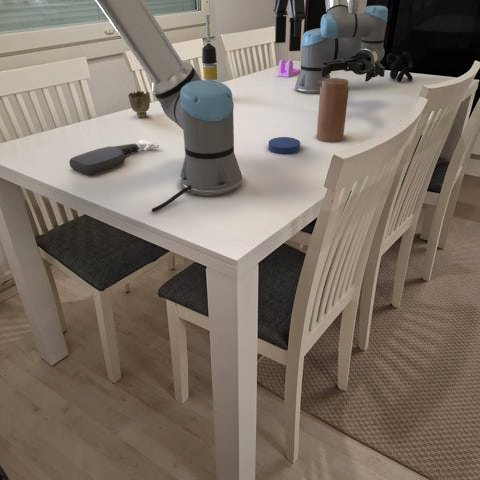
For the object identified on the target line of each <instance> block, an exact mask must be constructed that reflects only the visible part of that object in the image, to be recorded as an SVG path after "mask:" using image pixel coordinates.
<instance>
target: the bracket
mask: <svg viewBox="0 0 480 480" xmlns="http://www.w3.org/2000/svg"><path fill="white" fill-rule="evenodd" d="M300 71H301V68H297V67H296V68H295V67H294V62H293V60H289V59H288V60H287V62H286V60H285V59H279V61H278V74H277V75H278V77H284V78H290V77H293V76H296V75H299V74H300Z"/></svg>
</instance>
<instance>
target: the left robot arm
mask: <svg viewBox="0 0 480 480" xmlns="http://www.w3.org/2000/svg"><path fill="white" fill-rule="evenodd" d="M95 2H96V3H97V5H98V6H99V7H100V9H101V10H102V12H103V13H104V15H105V16H106V17H107V19H108V20H109V22H110V23H111V25H112V26H113V27H114V29H115V31H116V32H117V33H118V35H119V36H120V37H121V39H122V40H123V41H124V43H125V44H126V46H127V47H128V49H129V50H130V52H131V53H132V55H133V56H134V57H135V59H136V60H137V62H138V63H139V65H140V66H141V67H142V69H143V70H144V71H145V73H146V74H147V76H148V77H149V78H150V81H152V85H151V93H152V94H153V95H154V97H155V98H156V99H157V101H158V102H159V103H160V105H161V106H160V107H161V108H162V111H163V113H164V114H165V116H166V117H168V118H169V119H170V120H171V122H174V123H175V124H176V125H177V126H178V127H179V128H180V129H182V131H183V141H184V142H183V143H184V154H185V155H184V158H183V164H182V168H181V171H180V177H179V183H180V184H179V185H180V188H181V189H180V191H178V192H177V193H175V194H174V195H172V197H170V198H169V199H167V200H166V201H164V202H163V203H161V204H159V205H156V206H155V207H153V208H151V212H152V213H156V212H157V211H159V210H162V209H163V208H165V207H167V206H168V205H170V204H171V203H173V202H174V201H176V200H177V199H178V198H179V197H181V196H182V195H184V194H185V193H187V194H190V195H194V196H199V197H221V196H224V195H229V194H232V193H234V192H235V191H237V190H239V189H240V188H241V187H242V185H243V174H242V171H241V168H240V165H239V163H238V160H237V157H236V154H235V132H234V131H235V130H234V127H235V126H234V109H235V104H234V100H233V98H234V97H233V93H232V90H231V88H230V87H229V86H227V85H226V84H225V83H222V82H219V81H215V80H212V81H210V80H204V79H201V77H200V76H199V74H198V72H197V71H196V69H195V67H194V66H193V64H192V63H191V62H188V61H183V60H182V59H181V57H180V56H179V54H178V52H177V51H176V49H175V48H174V46H173V44H172V43H171V41H170V39H169V38H168V36H167V35H166V33H165V32H164V30H163V28H162V26H161V25H160V24H159V22H158V21H157V19H156V17H155V16H154V14H153V13H152V11H151V10H150V8H149V6H148V5H147V3H146V1H145V0H95ZM288 8H289V13H290V17H289V19H288V23H289V34H288V35H289V39H288V43H289V44H288V52H301V49H302V46H301V45H302V26H303V24H302V22H304V20H306V6H305V0H274V5H273V13H274V14H275V31H274V32H275V34H274V35H275V36H274V37H275V38H274V42H275V44H284V43H285V44H286V43H287V42H286V41H287V16H288V15H289V14H288ZM214 81H215V82H214Z"/></svg>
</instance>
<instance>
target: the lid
mask: <svg viewBox="0 0 480 480" xmlns="http://www.w3.org/2000/svg"><path fill="white" fill-rule="evenodd" d="M267 146H268V150H269V151H270V152H272V153H274V154H277V155H290V154H295V153H298V152H299V151H300V149H301V141H300V140H299V139H297V138H294V137H289V136H279V137H273V138H271V139H269V141H268V145H267Z"/></svg>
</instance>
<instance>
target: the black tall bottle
mask: <svg viewBox="0 0 480 480" xmlns="http://www.w3.org/2000/svg"><path fill="white" fill-rule="evenodd" d="M210 17H211V14H204V18H205V27H206V29H205V30H206V31H205V33H206V39H207V40H206V42H207V43H206V45H204V46H202V49H201V50H202V51H201V52H202V54H201V55H202V57H201V58H202V61H201V63H202V71H203V72H202V73H203V74H202V75H203V80H210V81H214V82H216V80H218V64H216V63H218V61H217V48H216V47H215V46H214V45H212V43H210V42H211V40H210V39H211V31H210V29H211V28H210Z"/></svg>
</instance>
